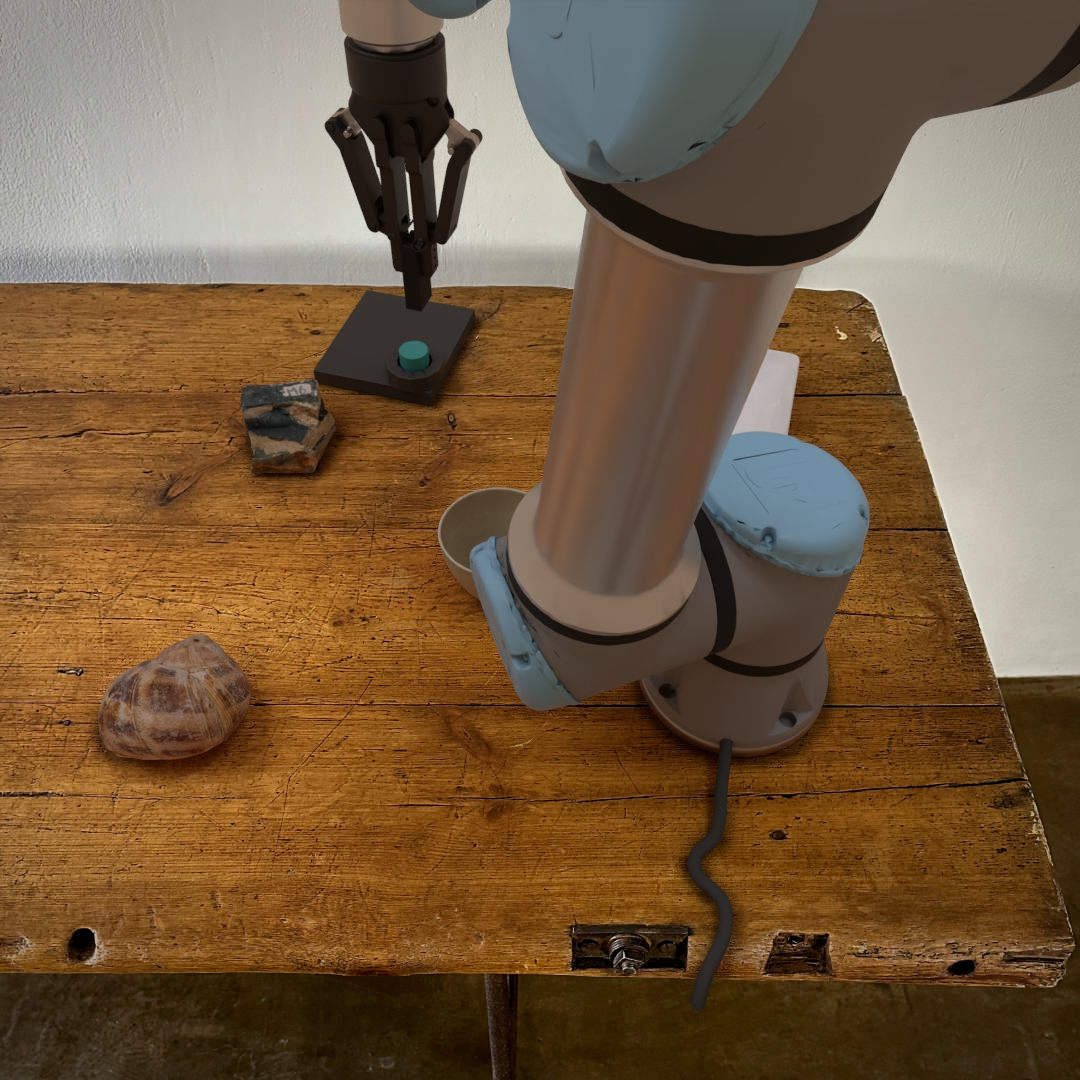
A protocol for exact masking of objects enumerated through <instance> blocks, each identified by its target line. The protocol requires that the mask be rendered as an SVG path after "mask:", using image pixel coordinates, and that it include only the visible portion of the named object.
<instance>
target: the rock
mask: <svg viewBox="0 0 1080 1080" xmlns="http://www.w3.org/2000/svg"><path fill="white" fill-rule="evenodd" d="M319 388H320V383H318V381H317V380H315V378H311V379H310V378H309V379H304V380H301V381H300V380H299V381H290V382H283V383H272V384H269V383H268V384H255V385H250V384H249V385H246V386H244V387H242V388H241V393H240V394H241V395H240V413H241V414H242V418H243V422H244V425H245V428H246V431H247V435H248V437H249V440H250V444H251V446H250V448H251V451H252V453H253V457H252V458H251V459H252V460H251V462H250V469H249V474H250V475H252V474H255V473H256V474H257V475H262V474H264V473H266V474H269V475H270V474H287V475H288V474H313V473H314V472H316V470H317V466H318V464H319V461H320V460H321V458H322V457H323V455H324V454H325V452H326V448H327V446H328V444H329V443H330V441H331V438H332V437H333V436H334V433H335V432H336V431H337V430H338V429H337V426H336V419H335V418H334V416H333V415H332V414H331V413H330V411H329V410H328V409H326V406H325V402H324V399H323V398H322V395H321V392H320V389H319Z"/></svg>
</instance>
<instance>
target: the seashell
mask: <svg viewBox="0 0 1080 1080" xmlns="http://www.w3.org/2000/svg"><path fill="white" fill-rule="evenodd" d="M251 692H252V691H251V687H250V683H249V681H248V678H247V676H246V673H245V672H244V671H243V669H242V668H241V666H240V665H239V663H238V662H237V661H236V660H235V659H233V657H231V656H230V655H229V654H228V653H227V652H226V651H225V650H224V648H223V647H222V646H221V645H220V644H219V643H217V642H216V641H215V640H213V639H212V638H211V637H210V636H208V635H206V634H204V633H195V634H193V635H191V636H187V637H186V638H184V639H182V640H179V641H177V642H175V643H172V644H170V645H169V646H167V647H166V648H164V649H162V650H161V652H160V653H159V654H158V656H157V657H156V658H152V659H147V660H144V661H142V662H140V663H138V664H135V665H134V666H131V667H129V668H127V669H126V670H124V671H123V672H122V673H121V674H120V675H118V676H117V677H116V678H115V679H113V680H112V681H111V683H110V684H109V686H108V687H107V689H106V691H105V693H103V696H102V697H101V702H100V704H99V708H98V714H97V724H98V729H99V736H100V739H101V741H102V743H103V745H104V746H105V748H106V750H107V751H110V752H112V753H113V754H114V755H115V756H116V757H119V758H131V759H137V760H141V761H145V760H146V761H149V760H151V761H158V760H172V761H173V760H179V759H186V758H189V757H194V756H198V755H200V754H203V753H205V752H208V751H210V750H212V749H213V748H215V747H217V746H218V745H220V744H222V743H224V742H226V741H227V740H229V738H230V736H231V735H232V734H233V733H234V731H235V730H237V729H238V726H239V725H240V723H242V721H243V719H244V718H245V716H246V714H247V711H248V709H249V707H250V703H251V698H252V697H251V696H252V693H251Z"/></svg>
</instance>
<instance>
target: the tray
mask: <svg viewBox="0 0 1080 1080" xmlns="http://www.w3.org/2000/svg"><path fill="white" fill-rule="evenodd" d="M800 363H801V362H800V357H799V356H798V355H797V354H794V353H792V352H787V351H782V350H776V349H770V348H769V349H768V351H767V353H766V356H765V358H764V360H763V363H762V365H761V367H760V370H759V372H758V374H757V377H756V379H755V381H754V384H753V386H752V388H751V391H750V393H749V395H748V398H747V400H746V402H745V405H744V407H743V409H742V412H741V414H740V416H739V419H738V421H737V423H736V426H735V428H734V430H733V433H732V435H733V434H737V433H743V432H752V431H764V432H774V433H780V434H784V435H788V436H789V431H790V425H791V424H790V423H791V418H792V412H793V405H794V399H795V392H796V387H797V383H798V382H797V380H798V377H799V370H800Z"/></svg>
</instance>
